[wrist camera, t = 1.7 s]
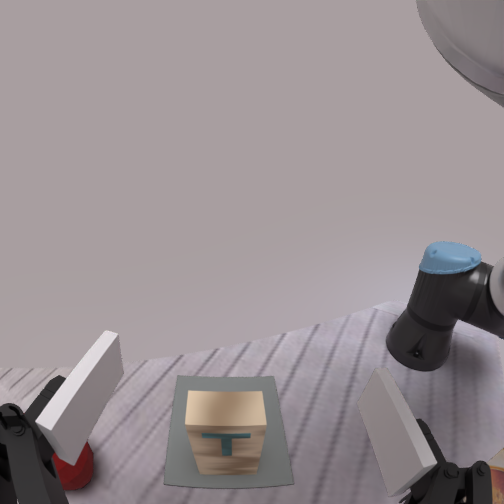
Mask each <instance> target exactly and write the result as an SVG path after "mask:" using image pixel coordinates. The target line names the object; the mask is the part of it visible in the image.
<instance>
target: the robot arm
mask: <svg viewBox="0 0 504 504" xmlns="http://www.w3.org/2000/svg"><path fill="white" fill-rule="evenodd" d="M416 1H417V8H418V12H419V16H420V18H421V21H422V24H423V26H424V28H425V30H426V32H427V33H428V35H429V37H430V38H431V40H432V42H433V43H434V45H435V47H436V48H437V50H438V51H439V52H440V54H441V55H442V56H443V58H444V59H445V60H446V62H447V63H448V64H449V65H450V66H451V67H452V68H453V69H454V70H455V71H456V72H457V73H459V74H460V75H461V76H462V77H463V78H464V79H465V80H466V81H467V82H469V83H470V84H471V85H472V86H474V87H475V88H476V89H478V90H479V91H481V92H482V93H483V94H485V95H486V96H488V97H489V98H490V99H492V100H493V101H495V102H496V103H498V104H499V105H501V106H502V107H504V0H416ZM458 319H459V320H461V321H464V322H466V323H469V324H471V325H473V326H476V327H478V328H480V329H483V330H485V331H487V332H490V333H492V334H494V335H497V336H498V337H499V338H501V339H504V257H503V258H501V259H500V260H499V261H498V262H497V263H496V264H495V266H492V265H489V264H486V263H484V262H481V254H480V253H479V252H478V251H477V250H476V249H474V248H470V247H469V246H467V245H463V244H460V243H454V242H445V241H443V242H435V243H432V244H430V245H429V246H428V247H427V248H426V250H425V253H424V256H423V259H422V262H421V263H420V265H419V273H418V276H417V279H416V283H415V285H414V288H413V291H412V294H411V297H410V299H409V303H408V305H407V308H406V309H405V311H404V312H403V313H402V314H401V316H400V317H399V318H398V320H397V321H396V322H395V323H394V324H393V325H392V327H391V328H390V331H389V333H388V336H387V346H388V349H389V351H390V352H391V354H392V355H393V356H394V357H395V358H396V359H397V360H398V361H399V362H401V363H402V364H404V365H406V366H408V367H410V368H413V369H416V370H421V371H430V370H434V369H437V368H439V367H440V366H441V365H442V364H443V363H444V361H445V360H446V358H447V356H448V354H449V351H450V343H451V339H452V333H453V328H454V326H455V324H456V322H457V320H458ZM123 374H124V371H123V364H122V358H121V351H120V342H119V335H118V334H117V333H114V332H110V331H106V330H105V331H104V333H103V334H102V335H101V336H100V338H99V339H98V340H97V341H96V342H95V344H94V345H93V346H92V347H91V348H90V350H89V351H88V352H87V353H86V355H85V356H84V357H83V358H82V360H81V361H80V362H79V363H78V365H77V366H76V367H75V368H74V370H73V371H72V372H71V374H70V375H69V376H68V377H67V379H66V378H64V377H62V376H60V375H58V376H57V377H55V378H53V379H52V380H50V381H49V382H48V384H47V385H46V386H45V387H44V389H43V390H42V391H41V392H40V395H38V396H37V398H36V399H35V400H34V401H33V403H32V404H31V405H30V407H29V408H28V409H27V411H26V412H25V413H23V411H22V410H21V409H20V407H19V406H17V405H15V404H12V403H7V404H3V405H2V406H0V504H17V499H18V502H19V504H69V502H68V500H67V497H66V495H65V492H64V490H63V487H62V484H61V481H60V478H59V475H58V472H57V469H56V466H55V462H54V460H53V458H52V456H53V454H54V453H56V454H57V456H58V457H59V458H60V459H62V460H64V461H65V462H67V463H69V464H71V465H73V466H74V465H75V463H76V461H77V459H78V457H79V455H80V453H81V451H82V449H83V447H84V445H85V443H86V442H87V440H88V438H89V436H90V434H91V432H92V430H93V428H94V426H95V424H96V423H97V421H98V419H99V417H100V415H101V413H102V412H103V410H104V408H105V406H106V404H107V403H108V401H109V399H110V397H111V395H112V394H113V392H114V390H115V388H116V387H117V385H118V383H119V381H120V380H121V378H122V376H123ZM357 405H358V408H359V411H360V413H361V416H362V419H363V422H364V424H365V427H366V430H367V433H368V436H369V438H370V441H371V444H372V447H373V450H374V453H375V456H376V459H377V462H378V465H379V468H380V471H381V474H382V477H383V480H384V483H385V486H386V490H387V493H388V496H389V497H392V496H395V495H399V494H402V493H404V492H405V491H406V490H407V489H409V488H410V490H411V492H410V493H409V494H408V495H406V496H405V497H404V498H402V499H401V500H400V502H399V503H402V502H403V501H404V500H406V501H405V503H404V504H493V497H492V479H491V470H490V467H489V465H488V464H487V463H486V462H484V461H477V462H476V463H474V464H473V465H472V466H471V467H469V468H459V467H458V466H457V465H456V464H454V463H450V462H446V460H445V458H444V456H443V454H442V452H441V450H440V448H439V446H438V444H437V443H436V441H435V440H434V437H433V435H432V434H431V431H430V429H429V427H428V426H427V424H426V423H425V422H424V421H422V420H421V419H415V417H414V415H413V414H412V412H411V410H410V408H409V406H408V404H407V402H406V401H405V399H404V397H403V395H402V393H401V392H400V390H399V388H398V386H397V384H396V383H395V381H394V379H393V377H392V376H391V374H390V372H389V370H388V369H387V368H375V370H374V372H373V374H372V376H371V378H370V380H369V382H368V384H367V386H366V388H365V389H364V391H363V393H362V395H361V397H360V399H359V400H358V402H357ZM465 497H466V502H464V500H463V499H464V498H465Z"/></svg>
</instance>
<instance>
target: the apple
mask: <svg viewBox="0 0 504 504" xmlns="http://www.w3.org/2000/svg"><path fill="white" fill-rule="evenodd" d="M52 458H53V460H54V462H55V466H56V469H57V472H58V475H59V478H60V481H61V484H62V487H63V490H76V489H79V488H82V487H84V486H85V485H86V484H87V483H88V482H90V480H91V477H92V475H93V452H92V450H91V448H90V446H89V444H88V442H86V443H85V445H84V447H83V449H82V451H81V453H80V455H79V457H78V459H77V461H76V463H75V465H74V466H73V465H71V464H69V463H67V462H65V461H64V460H62V459H60V458H59V457H58V456H57V454H56V453H54V454H53V456H52Z"/></svg>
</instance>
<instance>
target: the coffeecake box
mask: <svg viewBox="0 0 504 504" xmlns="http://www.w3.org/2000/svg"><path fill="white" fill-rule="evenodd" d="M487 464H488V465H489V467H490V470H491V479H492V497H493V504H504V448H503V449H502V450H501V451H499V452H498V453H497V454H496V455H495V456H494V457H493V458H491V459H490V460H489V461H488V462H487ZM463 500H464V502H466V497H465V498H464V499H463Z"/></svg>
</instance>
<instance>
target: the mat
mask: <svg viewBox="0 0 504 504" xmlns="http://www.w3.org/2000/svg"><path fill="white" fill-rule="evenodd" d="M188 390H189V391H214V392H249V391H262V394H263V401H264V408H265V415H266V422H267V426H266V431H265V436H264V441H263V446H262V451H261V456H260V460H259V465H258V469H257V474H252V475H204V474H200V473H199V470H198V467H197V464H196V460H195V457H194V454H193V451H192V447H191V444H190V441H189V437H188V434H187V430H186V427H185V418H186V408H187V398H188ZM293 484H294V481H293V475H292V470H291V465H290V459H289V454H288V449H287V443H286V438H285V433H284V427H283V422H282V417H281V411H280V406H279V401H278V395H277V390H276V384H275V379H274V376H266V377H200V376H180V375H177V382H176V388H175V395H174V401H173V408H172V415H171V423H170V430H169V438H168V447H167V455H166V465H165V475H164V485H172V486H181V487H193V488H212V489H245V488H264V487H276V486H285V485H293Z"/></svg>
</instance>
